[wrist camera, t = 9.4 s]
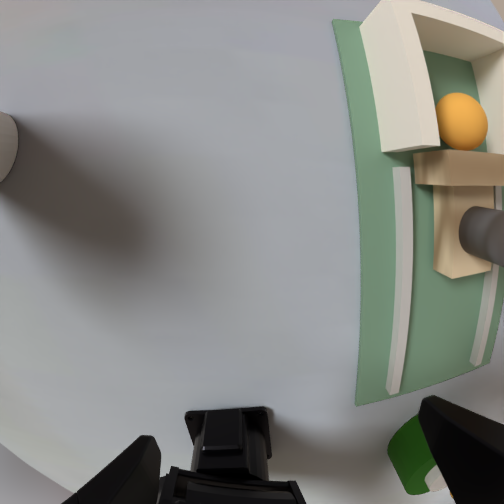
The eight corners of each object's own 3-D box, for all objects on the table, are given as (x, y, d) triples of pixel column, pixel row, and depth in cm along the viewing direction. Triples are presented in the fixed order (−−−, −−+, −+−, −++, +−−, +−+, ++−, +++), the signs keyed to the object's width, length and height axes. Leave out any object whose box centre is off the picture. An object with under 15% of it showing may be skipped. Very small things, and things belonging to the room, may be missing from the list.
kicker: (483, 259, 19) (559, 292, 11) (416, 272, 19) (495, 318, 11) (483, 157, 18) (566, 156, 9) (412, 153, 17) (502, 144, 9)
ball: (483, 86, 14) (457, 113, 18) (441, 76, 14) (417, 109, 18) (506, 137, 13) (474, 161, 17) (466, 132, 13) (434, 159, 17)
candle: (459, 393, 23) (511, 452, 13) (448, 441, 25) (485, 496, 15) (388, 425, 23) (430, 502, 14) (385, 469, 25) (414, 535, 15)
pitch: (487, 361, 22) (517, 387, 17) (354, 403, 22) (375, 447, 17) (485, 53, 16) (524, 37, 11) (331, 21, 16) (356, -19, 11)
